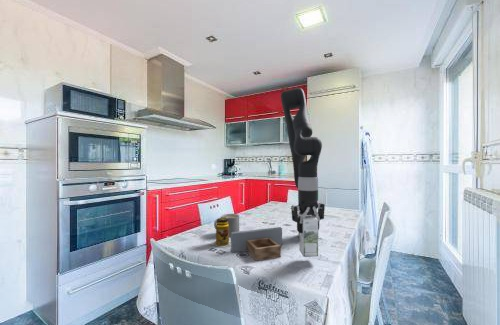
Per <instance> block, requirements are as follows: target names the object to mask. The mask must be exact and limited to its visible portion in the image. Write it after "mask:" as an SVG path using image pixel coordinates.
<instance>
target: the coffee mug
mask: <svg viewBox="0 0 500 325" xmlns="http://www.w3.org/2000/svg"><path fill="white" fill-rule="evenodd" d="M220 218H227V219H228V224H229V238H231V232H239V231H240V215H239V214H238V213H224V214H222V215H220ZM217 219H218V218H217ZM217 219H215V220H214V222H213V227H214V230H216V225H217Z"/></svg>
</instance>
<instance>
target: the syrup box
mask: <svg viewBox="0 0 500 325" xmlns="http://www.w3.org/2000/svg"><path fill="white" fill-rule="evenodd" d="M302 224H303V233H299V236H298V238H299V252H300V255H302V257H303V258H307V257H318V256H319V230H318V219H317V218H316V217H315V216H312V215H310V216H306V217H305V218H304V219H303V222H302Z"/></svg>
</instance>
